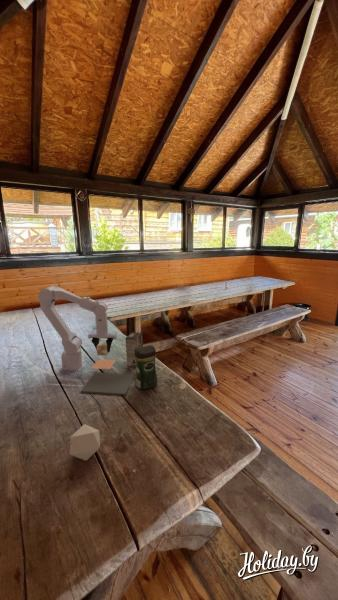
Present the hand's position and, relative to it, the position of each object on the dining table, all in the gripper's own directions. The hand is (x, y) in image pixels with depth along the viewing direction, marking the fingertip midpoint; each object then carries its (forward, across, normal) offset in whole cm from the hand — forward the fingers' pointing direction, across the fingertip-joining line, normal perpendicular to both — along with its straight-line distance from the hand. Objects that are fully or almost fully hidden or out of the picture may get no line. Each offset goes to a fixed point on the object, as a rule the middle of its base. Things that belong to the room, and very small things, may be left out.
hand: (103, 351), depth 127 cm
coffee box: (+9, -15, -5) cm, 18 cm away
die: (+9, -14, +54) cm, 56 cm away
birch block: (+1, 0, 0) cm, 1 cm away
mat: (+9, -8, +16) cm, 19 cm away
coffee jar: (+9, -25, +15) cm, 30 cm away
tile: (+9, +1, -2) cm, 9 cm away
